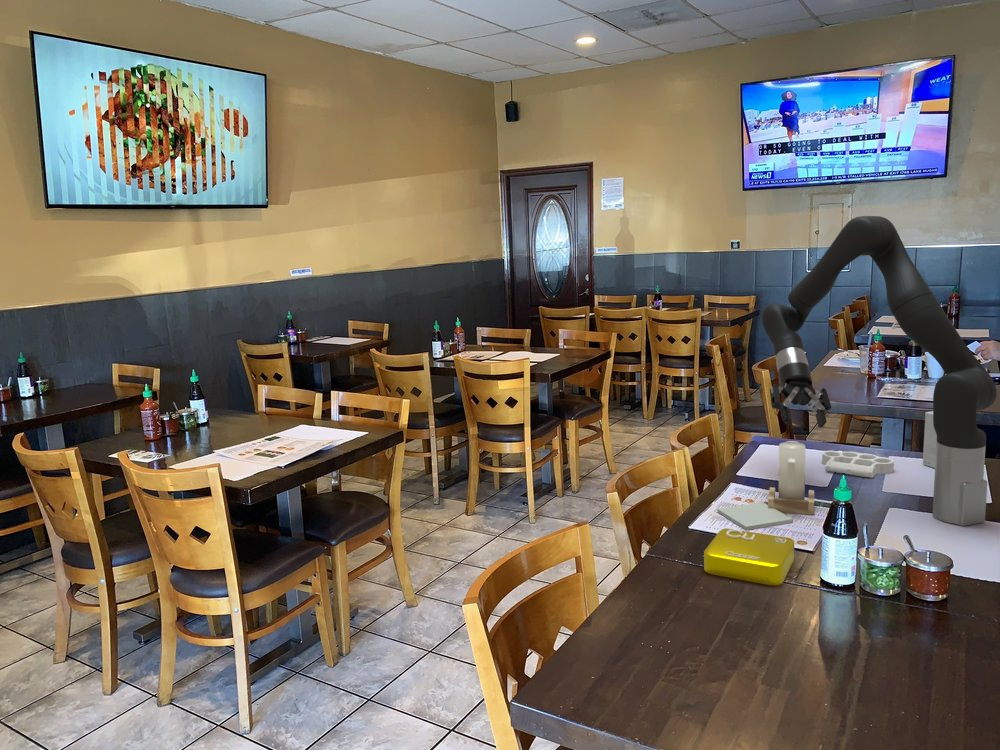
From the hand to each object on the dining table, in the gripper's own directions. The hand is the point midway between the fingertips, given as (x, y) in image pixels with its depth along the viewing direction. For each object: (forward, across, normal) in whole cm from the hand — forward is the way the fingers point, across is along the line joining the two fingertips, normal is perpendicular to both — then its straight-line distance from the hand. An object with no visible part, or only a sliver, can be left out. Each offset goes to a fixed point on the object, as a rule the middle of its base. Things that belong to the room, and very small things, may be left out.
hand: (805, 424), depth 183 cm
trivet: (+23, -14, +6) cm, 27 cm away
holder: (+18, -3, +9) cm, 20 cm away
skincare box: (-2, +47, +18) cm, 51 cm away
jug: (+19, -4, +8) cm, 21 cm away
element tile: (+41, -24, -10) cm, 49 cm away
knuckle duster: (-1, +25, +23) cm, 34 cm away
